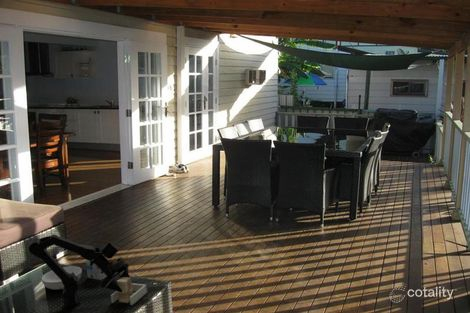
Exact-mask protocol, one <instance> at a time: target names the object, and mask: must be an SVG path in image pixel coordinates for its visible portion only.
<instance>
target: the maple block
mask: <svg viewBox="0 0 470 313" xmlns="http://www.w3.org/2000/svg"><path fill="white" fill-rule="evenodd" d="M131 280H132V277H130V278H129V277H122V278H121V277H119V279H118V280H116V284H117V285H118V286H119V287H120V288H121V289H122V292H118V295H119V299H118V302H119V303H124V304H125V303H126V304H129V303H130V298H129V297H130V296H132V295H133V290H132V283H133V281H132V282H131Z"/></svg>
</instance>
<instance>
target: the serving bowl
mask: <svg viewBox="0 0 470 313" xmlns="http://www.w3.org/2000/svg"><path fill="white" fill-rule="evenodd" d="M62 267H63V268H64V269H65V270H66V272H68V273H70V274H71V273H72V272H73V273H74V274H75V276H77V277H78V280H79V281H80V279H81V278H82V274H83V270H82V268H81V267H79V266H76V265H75V266H74V265H73V266H62ZM41 281H42V284H43V285H44V287H45V288H47V289H50V290H63V288H64V285H63V283H62V281H61V279H60V278H59V277H58V276H57V275H56V274H55V273H54V272H53V271H52V270H50V271H48V272H46V273H45V274H43V275H42V276H41Z"/></svg>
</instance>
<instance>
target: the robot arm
mask: <svg viewBox="0 0 470 313" xmlns="http://www.w3.org/2000/svg"><path fill="white" fill-rule="evenodd" d="M51 246H57V247H59V248H62V249H65V250H68V251H70V252H73V253H75V254H78V255H79V256H80V257H81V258H83V259H85V260H89V261H90V266H92V265H94V264H95V265H96V266H97V267H98V268H99V269H100V270H101V273H104V274H105V275H106V276H107V277H106V278H104V279H103V280H101V282H100V288H101V289H108V290H112V291H114V292H115V291H118V292H122V289H121V288H120V287H119V286H118V285H117V281H116V279H115V278H116V277H117V276H119V278H122V277H129V278H131V277H130V274H129V269H130V268H129V267H130V266H129V264H128V263H127V262H126V261H125V260H126V259H124V258H123V256H120V257H118V258H117V259H116V261H115V262H114V261H109V260H110V259H112V258H113V257H114V256H115V255H116V254H117V253H118V252H119V251H120V248H119V247H118V246H117V245H116V244H115V243H113V242H111V241H108V242H106V244H105V245H104V246H103V247H95V246H94V245H89V244H83V243H82V244H81V243H77V242H75V241H72V240H69V239H68V238H64V237H62V236H59V235H57V234H54V233H53V234H51V235H48V236H43V237H41V238H33V239H32V240H31V241H30V243H29V246H28V251H29V253H30V254H31V255H32V256H34V257H36V258H38V259H40V260H41V261H43V263H44V264H45V265H46V266H47V267H48V268H49V269H50V271H53V272H54V273H55V274H56V275H57V276H58V277H59V278H60V279H61V281H62V283H63V285H64V288H63V289H62V300H63V301H62V302H63V305H62V307H61V308H62V309H67V310H68V309H70V310H74V308H76V307H78V306H79V305H80V304H81V301H79V298H78V297H79V296H78V293H77V291H78V290H79V284H80V283H79V282H80V279H79V280H78V277H77V276H75V274H74V273H73V272H72V273H71V274H70V273H68V272H66V270H65V269H64V268H63V267H64V266H62V265H61V264H60V262H58V261H57V259H55V258H54V256H52V254H50V253H49V251H48V248H49V247H51ZM106 258H107V259H106ZM131 282H132V283H133V281H132V279H131Z"/></svg>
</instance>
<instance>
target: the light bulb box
mask: <svg viewBox="0 0 470 313" xmlns="http://www.w3.org/2000/svg"><path fill="white" fill-rule="evenodd" d="M105 258H106V257H105ZM106 259H107V260H108V258H106ZM85 265H86V274H87V278H88V279H93V280H98V281H103V280H104V278H106V277H107V276H106V275H105V274H104V273H101V270H100V269H99V268H98V267H97V266H96V265H95V264H94V265H92V266H90V261H89V260H86V259H85ZM102 279H103V280H102Z"/></svg>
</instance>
